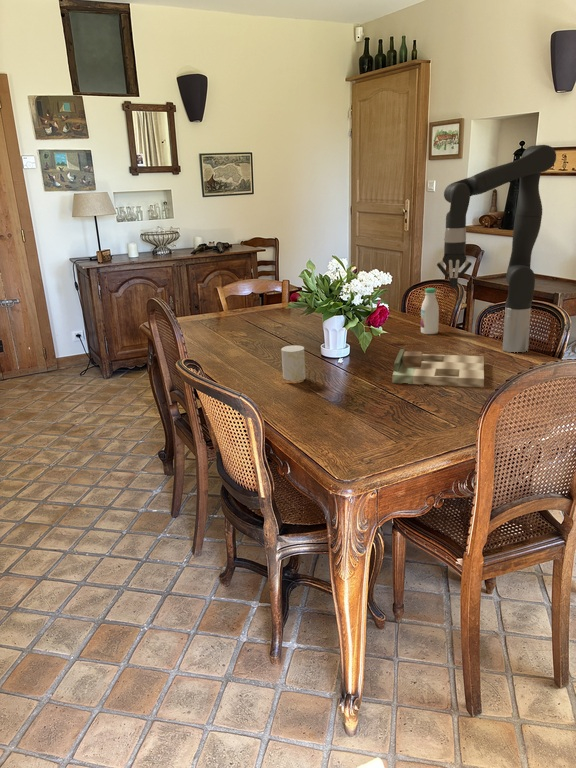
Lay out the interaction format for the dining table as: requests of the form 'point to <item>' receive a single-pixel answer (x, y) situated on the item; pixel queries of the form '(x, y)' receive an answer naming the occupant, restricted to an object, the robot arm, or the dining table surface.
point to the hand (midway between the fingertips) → (453, 287)
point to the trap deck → (441, 370)
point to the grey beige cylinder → (293, 363)
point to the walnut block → (412, 359)
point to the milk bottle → (429, 312)
